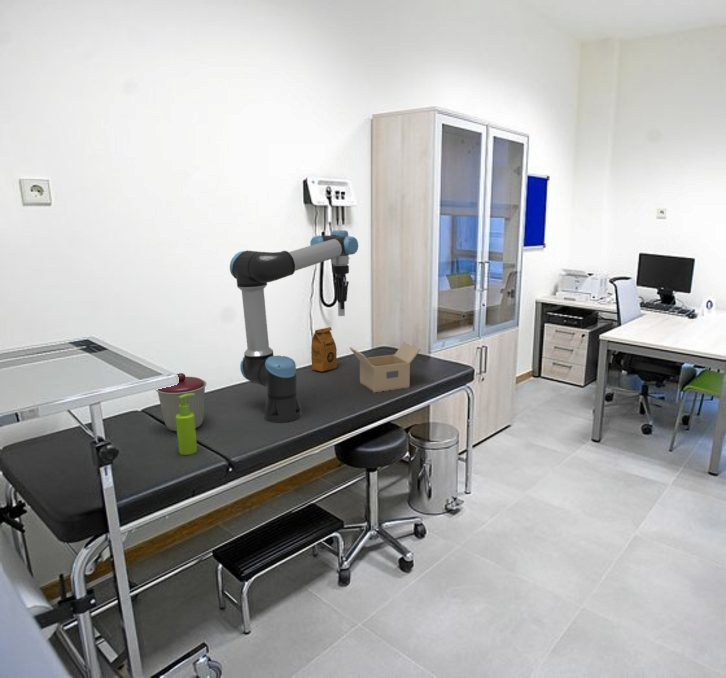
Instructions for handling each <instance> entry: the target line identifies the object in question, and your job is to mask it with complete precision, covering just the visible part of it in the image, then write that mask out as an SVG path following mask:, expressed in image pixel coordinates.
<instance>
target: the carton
mask: <svg viewBox="0 0 726 678" xmlns="http://www.w3.org/2000/svg"><path fill="white" fill-rule="evenodd" d="M366 358H367V359H368V360H369V362H370V363H371V364H372V365H373V367H374V368H372V367H370V366H369V365H367V364H365V363H364V362H362V361H360V360H359V384H360V385H362V384H363V385H364V387H365V386H366V387H367V388H366V387H365V388H366V389H368V388H369V389H370V390H369V389H368V390H369V391H371V390H372V391H373V392H372V391H371V392H372V393H374V394H376V393H375V392H378V393H383V392H382V391H384V392H390V391H389V390H391V391H395V390H396V389H397V390H403V389H402V388H404V389H410V388H409V387H410V386H411V385H410V380H411V379H410V376H411V372H410V371H411V369H410V367H411V363H410V362H408V361H406V360H404V359H402V358H399V357H397V356H395V355H394V354H386V355H381V356H371V357H366ZM363 385H362V386H363Z"/></svg>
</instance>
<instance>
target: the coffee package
mask: <svg viewBox="0 0 726 678" xmlns="http://www.w3.org/2000/svg"><path fill="white" fill-rule="evenodd" d="M310 349H311V350H310V355H311V358H310V359H311V370H312V371H318V372H326V371H331V370H334V369H336V368H338V367H337V366H338V359H337V350H338V348H337V345H336V342H335V339H334V337H333V334H332V327H331V326H329V327H328V326H327V327H324V328H319V329H316V330H314V334H313V336H312V339H311V345H310Z"/></svg>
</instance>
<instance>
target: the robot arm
mask: <svg viewBox="0 0 726 678" xmlns="http://www.w3.org/2000/svg"><path fill="white" fill-rule="evenodd" d="M358 250H359V241H358V240H357V238H356V237H355V236H350V235H349V232H348V230H342V229H341V230H340V229H339V230H338V229H337V230H332V231H331V235H326V234H325V235H315V236H313V237H312V238H311V239H310V245H308V246H305V247H301V248H298V249H294V250H292V251H288V250H281V251H276V252H273V251H272V252H270V251H257V250H256V251H255V250H242V251H238V252H237V253H236V254H234V256H233V257H232V258H231V260H230V262H229V263H230V264H229V271H230V274H231V276H232V277H233V278H234V279H235V280H236V286H237V288H238V289H239V290H240V291H241V297H242V307H243V316H244V317H243V318H244V328H245V335H246V337H245V339H246V346H247V349H246V350H245V351H244V352H243V353H244V356H243V357H242V360H241V362H240V372H241V375H242V377H244V379H246V381H249V382H251V383H252V384H253V383H254V384H257V385H260V386H262V387H265V388H266V394H267V395H266V397H267V398H266V402H265V405H264V409H263V418H264V420H266V421H269V422H272V423H287V422H288V421H289V422H293V421H295V419H296V420H298V419H300V418H301V417H302V415H303V412H302V411H303V409H302V406H301V404H300V401H299V398H298V394H297V393H298V392H297V391H298V390H297V366H296V361H295V360H294V359H293V358H291V357H289V356H285V355H283V356H282V355H274V349H272V348H271V347H270V344H269V334H268V333H269V332H268V324H267V311H266V310H267V309H266V299H265V298H266V297H265V288H266V287H267V285H268V283H272V282H274V281H278V280H281V279H283V278H284V279H285V278H287V277H289V276H292V275H294V274H295V272H296V271H299V270H302V269H305V268H308V267H311V266H314V265H317V264H320V263H322V262H323V263H324V262H325V261H329V260H331V264H332V266H331V267H332V274H334V275H335V278H333V280H332V281H333V284H334V295H335V300H337V316H338V317H345V316H346V315H345V314H346V313H345V311H346V309H345V307H346V306H345V303H346V302H347V299H348V290H349V284H350V282H349V281H348V280H347V275H348V274H349V273H350V266H349V262H350V257H349V256H350V255H355V254H356V253H357V252H358ZM292 420H293V421H292Z"/></svg>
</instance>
